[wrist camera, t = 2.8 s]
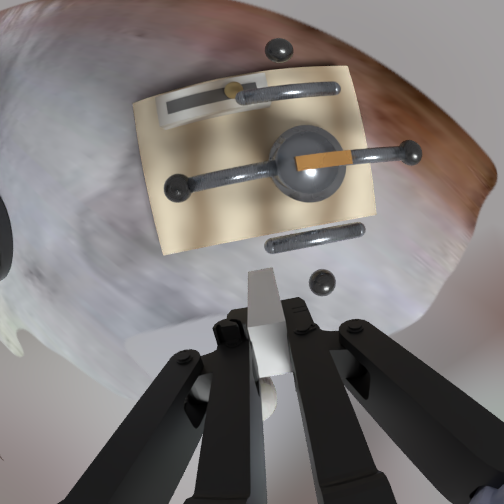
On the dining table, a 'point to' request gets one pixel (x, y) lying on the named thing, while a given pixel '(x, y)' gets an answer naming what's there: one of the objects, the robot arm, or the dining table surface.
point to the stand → (244, 156)
